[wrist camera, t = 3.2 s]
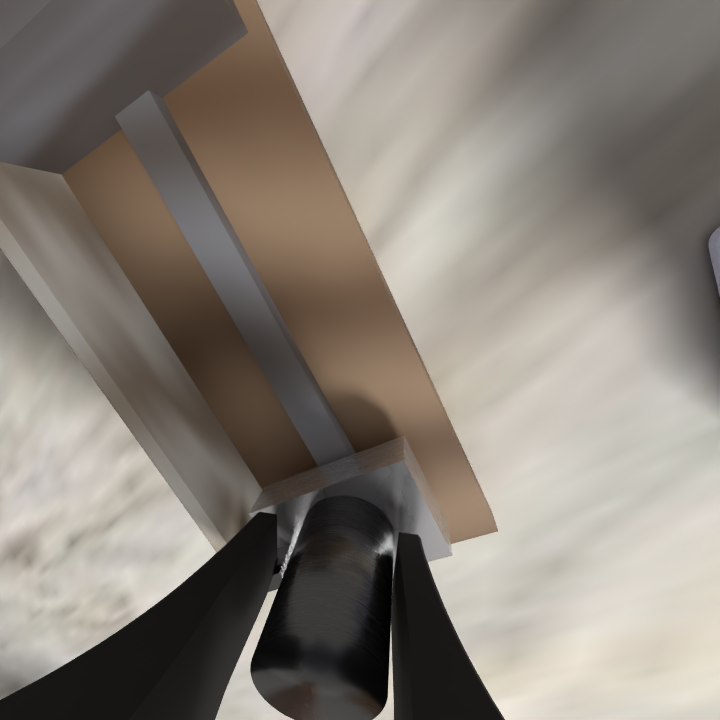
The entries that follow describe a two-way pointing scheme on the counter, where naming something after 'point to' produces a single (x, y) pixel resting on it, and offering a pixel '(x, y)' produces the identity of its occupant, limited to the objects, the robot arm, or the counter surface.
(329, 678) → the gauge slider
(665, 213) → the counter surface
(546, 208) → the counter surface
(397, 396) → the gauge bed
